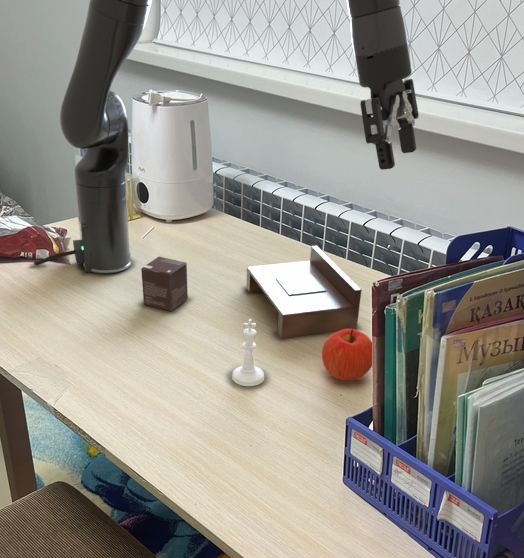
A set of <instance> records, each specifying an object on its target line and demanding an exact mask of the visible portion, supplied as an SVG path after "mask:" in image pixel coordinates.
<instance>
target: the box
mask: <svg viewBox="0 0 524 558" xmlns="http://www.w3.org/2000/svg"><path fill="white" fill-rule="evenodd" d="M187 267H188V264H187V262H185V261H181V260H176V259H172V258H167V257H163V256H158V257H156V258H155V259H153V260H152V261H150V262H148V263H147V264H145V265H144V266H143V267H141V268H140V271H141V285H142V297H143V305H146V306H149V307H150V306H151V307H154V308H158V309H163V310H166V311H170V312H172V311H173V310H175V309H176V308H177V307H178V306H180V305H181V304H182V303H184V302H185V301H186V300H188V297H189V295H188V269H187Z"/></svg>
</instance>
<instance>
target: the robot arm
mask: <svg viewBox="0 0 524 558" xmlns="http://www.w3.org/2000/svg"><path fill="white" fill-rule="evenodd" d="M152 1H153V0H89V1H88V2H89V3H88V10H87V12H86V13H87V14H86V19H85V23H84V28H83V30H82V31H83V32H82V36H81V39H80V43H79V49H78V52H77V56H76V60H75V64H74V67H73V71H72V73H71V76H70V79H69V82H68V85H67V87H66V90H65V94H64V96H63V100H62V102H61V106H60V112H59V123H60V129H61V132H62V135H63V136H64V138H65V140H66V141H67V142H68V144H70V145H71V146H72V147H74V148H77V149H79V150H80V149H81V150H84V149H85V152H84V154H83V156H82V158H81V159H80V160H79V161H78V162H77V163H76V165H75V166H74V179H75V190H76V199H77V208H78V209H77V210H78V217H77V219H78V228H79V229H78V230H79V237H80V239H74V240H72V242H73V250H69V251H64V252H63V251H62V252H58V253H55V254H52V255H49V256H47V257H45V258H43V259H40V260H34V261H33V265H34V266H39V265H43V264H45V263H47V262H49V261H52V260H53V259H58V258H63V257H66V256H72V255H74V258H75V261H76V262H75V263H76V264H77V265H78V264H82V265H83V268H84V271H85V273H95V274H115V273H120V272H123V271H125V270H127V269H128V268H130V267H131V266H132V259H131V247H130V246H131V245H130V231H129V215H128V213H129V212H128V201H127V199H128V198H127V183H126V182H127V181H126V172H127V168H128V165H129V158H130V157H129V156H130V155H129V154H130V153H129V149H130V148H129V147H130V146H129V119H128V113H127V110H126V106H125V105H124V102H123V100H122V99H121V97H119V95H118V94H117V93H115V92H114V91H112V90H111V88H112V84H113V82H114V79H115V78H116V76H117V74H118V73H119V71H120V70H121V67H122V66H123V64H124V63H125V62H126V60H127V59H128V57H129V56H130V54H131V53H132V51H133V50H134V48H135V47H136V46H137V44H138V42H139V41H140V38H141V36H142V34H143V31H144V29H145V26H146V23H147V19H148V17H149V13H150V8H151V4H152ZM346 4H347V10H348V17H349V22H350V37H351V44H352V48H353V54H354V60H355V66H356V71H357V77H358V83H359V85H360V87H361V88H368V89H369V90H370V91H369V92H370V93H369V94H370V98H366V99H361V100H360V102H359V103H360V112H361V118H362V125H363V131H364V132H363V133H364V137H365V143H366V144H368V145H369V144H372V145H375V151H376V156H377V162H378V167H379V169H380V170H382V171H383V170H391V169H393V168H394V167H395V165H396V163H395V156H394V150H393V143H392V141H391V138H392V130H393V129H394V128H395V126H397V128H398V129H397V132H398V138H399V144H400V151H401V153H402V154H410V153H414V152H415V151H416V150H417V144H416V143H417V142H416V136H415V131H414V126H415V124H416V120H417V119H419V109H418V103H417V102H418V101H417V95H416V90H415V85H414V79H413V78H408V77H410V76H411V75H412V71H413V70H412V64H411V55H410V51H409V44H408V37H407V30H406V29H407V28H406V24H405V18H404V16H403V12H402V8H401V3H400V0H346ZM407 78H408V79H407Z"/></svg>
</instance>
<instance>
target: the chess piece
mask: <svg viewBox="0 0 524 558" xmlns="http://www.w3.org/2000/svg"><path fill="white" fill-rule="evenodd" d="M243 327H244V328H245V329H243V330H242V334H243V337H244V342H243V343H242V345H241V348H242V349H244V350H245V352H244V353H245V354H244V360H243V363H242V365H239V366H238V367H236V368H234V369H233V371H232V375H231V379H232V381H233V382H234V383H236V384H237V385H239V386H243V387H255V386H258V385H260V384H262V383H263V382H264V380H265V373H264V371H263V370H262V369H261V368H260V367H258V366H257V365H255V363H254V355H253V354H254V353H253V350H255V349H257V344H256V342H254V341H255V338H256V336H257V331H256V329H254V328H256V327H257V323H256V322H253V320H252V318H249V319H248V322H244V323H243Z"/></svg>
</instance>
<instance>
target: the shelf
mask: <svg viewBox="0 0 524 558" xmlns="http://www.w3.org/2000/svg"><path fill="white" fill-rule="evenodd" d="M245 285H246V286H245V288H246V290H247V291H248V293H260V292H263V293H264V295H265V297H266V298H267V299H268V301H270V303H271V305H273V307H274V308H275V310H276V311H277V312H278V317H277V319H278V321H277V334H278V335H279V337H280V339H288V338H295V337H302V336H310V335H318V334H325V333H335V332H338V331H340V330H343V329H355V330H358V321H359V313H360V305H361V297H362V289H361V288H360V287H359V286H358V285H357V283H355V282H354V280H352V279H351V278H350V277H349V276H348V275H347V274H346V272H344V271H343V270H342V269H341V267H339V266H338V265H337V264H336V263H335V262H334V261H333V260H332V259H331V258H330V257H329V256H328V255H327V254H326V253H325V252H324V251H323V250H322V249H321V248H320V247H319V246H318V245H310V255H309V260H302V261H293V262H292V261H291V262H282V263H272V264H261V265H251V266H246V284H245Z"/></svg>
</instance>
